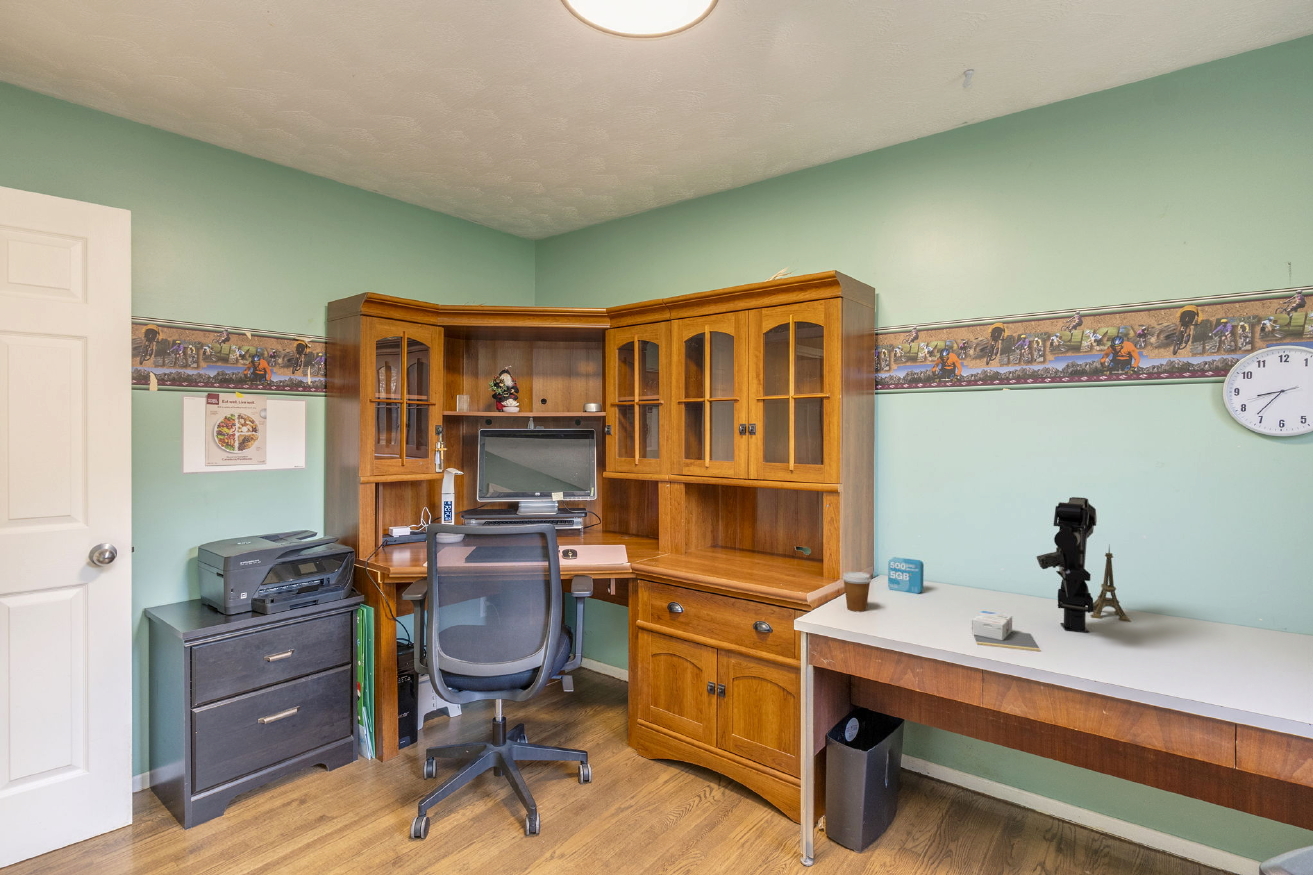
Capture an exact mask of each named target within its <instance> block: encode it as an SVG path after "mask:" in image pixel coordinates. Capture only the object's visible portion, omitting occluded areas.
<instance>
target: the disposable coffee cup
mask: <svg viewBox="0 0 1313 875" xmlns="http://www.w3.org/2000/svg"><path fill="white" fill-rule="evenodd" d="M842 580H843V583H844V584H843V586H844V591H845V592H844V593H845V600H846V608H847V610H848V611H852V612H856V611H859V612H860V613H861V612H866V611H867V606H868V600H869V599H868V598H869V592H870V584H871V581H872V577H871V575H870V574H869V573H867V572H862V571H861V572H860V571H848V572H844V573H843V576H842ZM859 612H858V613H859Z"/></svg>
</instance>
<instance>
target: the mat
mask: <svg viewBox="0 0 1313 875" xmlns="http://www.w3.org/2000/svg"><path fill="white" fill-rule="evenodd" d="M973 636H974V639H975V642H976V644H977V645H978V646H989V647H996V648H997V647H998V648H1005V649H1013V650H1025V651H1033V652H1041V648H1040V646H1039V645H1038V643H1037V642H1036V641H1035V638H1034V637H1033V636H1032V634H1031V633H1028V632H1021V631H1020V632H1019V631H1018V632H1017V631H1011V632H1010V633H1009V634H1008V635H1007V637H1006V638H1005V639H1004V640H1003V641H1002V640H997V639H993V638H988V637H983V636H978V635H973Z"/></svg>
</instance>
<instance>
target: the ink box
mask: <svg viewBox="0 0 1313 875" xmlns="http://www.w3.org/2000/svg"><path fill="white" fill-rule="evenodd" d="M971 629H972V630H971V631H972V633H971V634H972V635H973V636H974V635H978V636H983V637H988V638H993V639H997V640H1002V641H1003V640H1004V639H1005V638H1006V637H1007V635H1008V634H1009V633H1010V632H1013V616H1012V615H1011V614H1009V615H1008V614H1003V613H997V612H992V611H986V610H981V611H980V613H978V614H977V615H976V616H975V617H973V618H972V620H971Z"/></svg>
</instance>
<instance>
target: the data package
mask: <svg viewBox="0 0 1313 875" xmlns="http://www.w3.org/2000/svg"><path fill="white" fill-rule="evenodd" d="M887 564H888V565H887V571H888V572H887V587H888V588H889V590H891V591H896V592H903V593H909V594H915V595H917V594H919V593H921V592H922V591H923V590H924V576H925V575H924V570H925V569H924V562H923V561H922V560H920V559H912V558H905V557H896V556H895V557H892V558H891V559H889V560H888V562H887Z"/></svg>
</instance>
